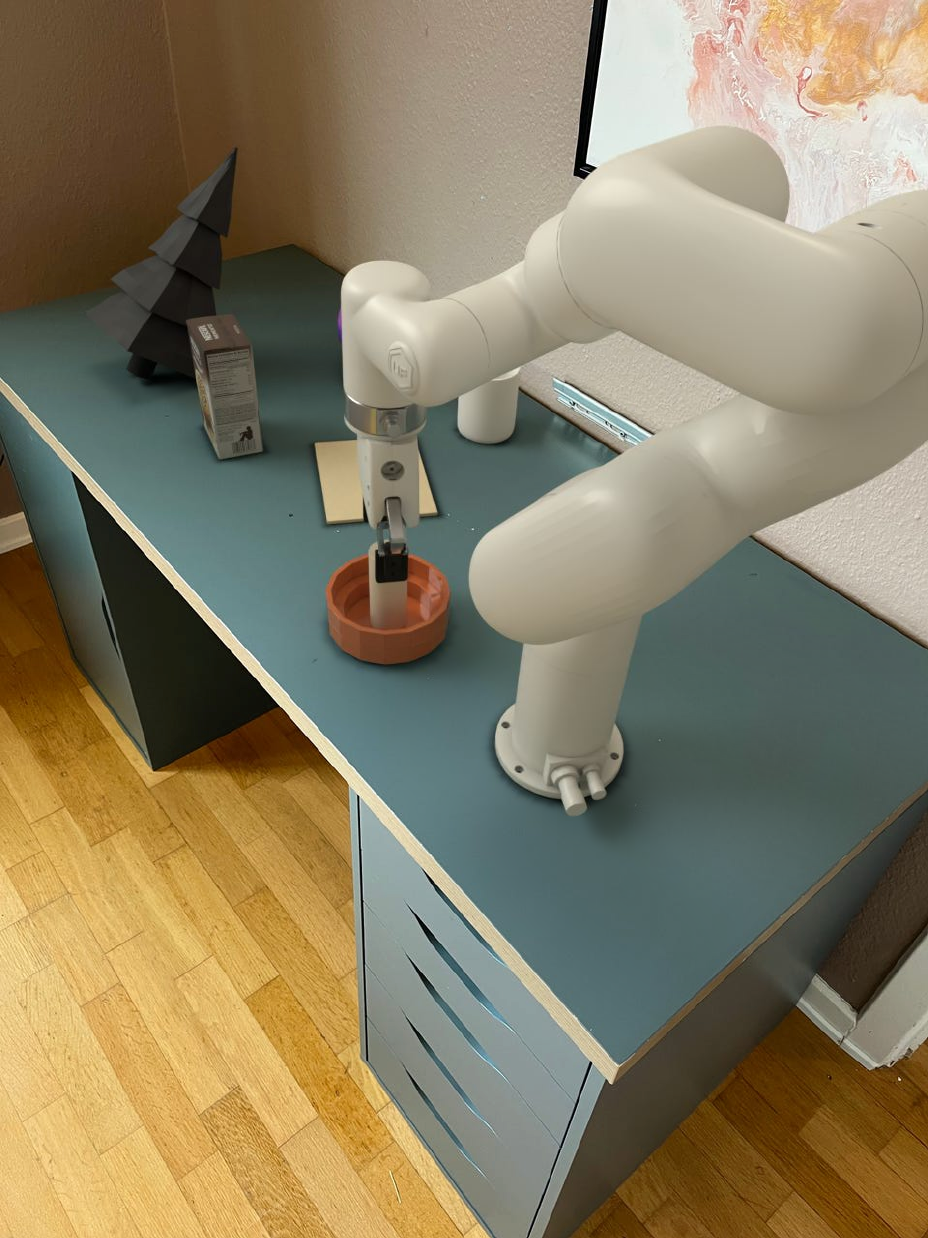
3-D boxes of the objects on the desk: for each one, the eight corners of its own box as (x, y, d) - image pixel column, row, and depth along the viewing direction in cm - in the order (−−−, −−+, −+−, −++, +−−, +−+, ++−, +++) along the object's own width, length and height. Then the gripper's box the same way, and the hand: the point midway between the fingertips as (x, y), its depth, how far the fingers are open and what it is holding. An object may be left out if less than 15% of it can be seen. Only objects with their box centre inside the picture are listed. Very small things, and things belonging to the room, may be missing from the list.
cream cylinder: (409, 631, 101) (410, 561, 94) (372, 635, 100) (371, 565, 93) (403, 607, 104) (404, 537, 97) (368, 610, 103) (366, 540, 96)
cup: (476, 450, 129) (481, 385, 122) (433, 410, 136) (435, 346, 129) (525, 436, 132) (532, 371, 125) (480, 397, 139) (485, 334, 132)
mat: (437, 515, 117) (437, 512, 117) (327, 524, 115) (327, 521, 115) (414, 438, 130) (414, 435, 130) (314, 445, 128) (314, 442, 127)
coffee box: (202, 427, 130) (184, 318, 119) (247, 418, 132) (233, 311, 121) (218, 461, 124) (200, 349, 113) (265, 452, 126) (252, 342, 115)
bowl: (458, 659, 99) (460, 626, 96) (335, 673, 97) (332, 640, 93) (436, 580, 108) (437, 547, 105) (323, 591, 106) (321, 557, 102)
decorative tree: (202, 408, 139) (304, 187, 130) (115, 379, 128) (220, 133, 118) (157, 368, 147) (250, 157, 138) (71, 338, 135) (166, 104, 126)
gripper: (443, 456, 78) (434, 602, 90) (411, 356, 90) (407, 496, 102) (355, 462, 77) (358, 609, 89) (334, 359, 89) (339, 501, 101)
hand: (384, 549), depth 96 cm, fingers open, 9 cm apart
